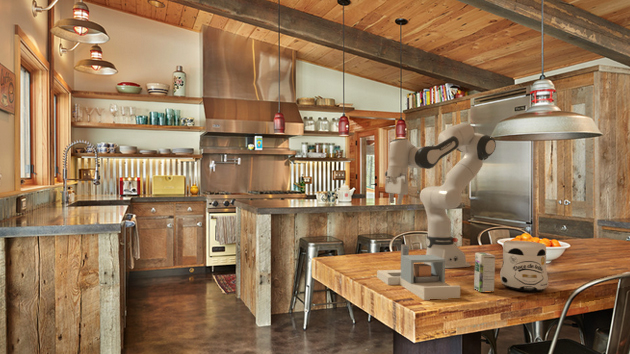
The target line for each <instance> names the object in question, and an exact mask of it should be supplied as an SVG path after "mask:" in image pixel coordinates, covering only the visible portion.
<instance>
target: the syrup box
mask: <svg viewBox="0 0 630 354" xmlns="http://www.w3.org/2000/svg"><path fill="white" fill-rule="evenodd" d="M474 256H475V257H474V275H473V276H474V277H473V279H474V282H473V288H474V290H475V289H476V290H475V291H477V290H478V291H477V292H479V291H480V292H485V291H494V292H495V274H496V273H495V272H496V255H494V254H491V253H489V252H479V251H478V252H475V253H474ZM480 292H479V293H480Z"/></svg>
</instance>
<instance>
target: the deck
mask: <svg viewBox="0 0 630 354" xmlns="http://www.w3.org/2000/svg"><path fill="white" fill-rule="evenodd" d="M376 278H377V279H378V280H380V281H382V282H383V283H384V284H386V285H387V286H389V285H390V286H391V285H392V286H395V285H397V286H398V285H400V286H401V287H403V288H405V290H407V291H409V292H410V293H412V294H413V295H415V296H417V297H418V298H419V299H421V300H423V301H431V300H430V299H441V300H449V299H448V298H460V299H461V286H460V285H450V284H449V283H446V282H445V283H442V282H440V281H439V282H414V281H413V284H410V283H409V282H407V281H405V280H404V279H402V278H401V269H385V270H384V269H383V270H382V269H381V270H380V269H379V270H376Z"/></svg>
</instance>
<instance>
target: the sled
mask: <svg viewBox="0 0 630 354" xmlns="http://www.w3.org/2000/svg"><path fill="white" fill-rule="evenodd" d="M409 251H410V245H408V244H400V256H401V255H410V254H409ZM413 281H414V282H439V276H437V275H435V274H433V273H431V276H415V275H414V278H413Z"/></svg>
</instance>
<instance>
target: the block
mask: <svg viewBox="0 0 630 354" xmlns="http://www.w3.org/2000/svg"><path fill="white" fill-rule="evenodd" d="M414 275H415V276H431V266H430V265H428V264H426V263H425V264H424V263H414Z"/></svg>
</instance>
